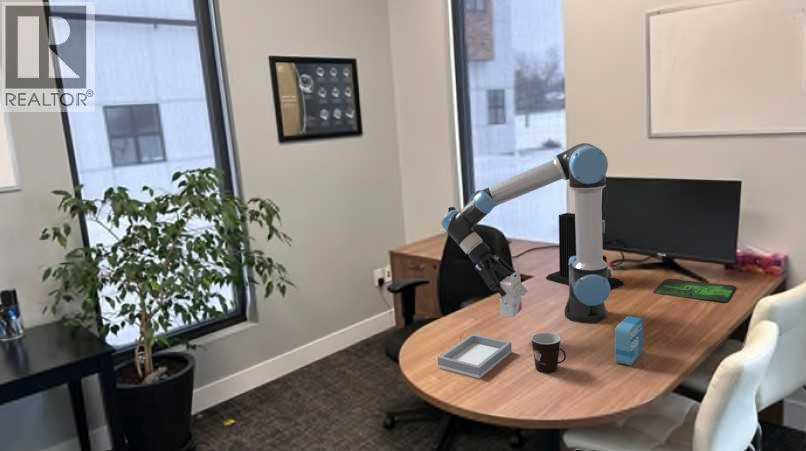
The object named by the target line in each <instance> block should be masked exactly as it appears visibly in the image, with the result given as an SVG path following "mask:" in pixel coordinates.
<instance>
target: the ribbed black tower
mask: <svg viewBox="0 0 806 451" xmlns="http://www.w3.org/2000/svg"><path fill="white" fill-rule="evenodd" d="M605 233H606V220H605V219H604V220H603V219H602V234H605ZM558 251H559V255H558V256H559V258H558V260H559V262H558V263H559V265H558V266H559V268H558V269H559V270H558V271H555V272H553V273H552V272H551V273H549V274H548V275H547V276H545V279H546V280H548V281H551V282H555V283H557V284H558V283H559V284H562V285H565V286H569V265H568V264H569V259H570V257H572V256H576V226H575V213H571V212H565V213H561V214H558ZM603 260H604V261H605V262H606V263H607V264H608V262H607V261H608V257H607V256H606V255H603ZM608 282H609V284H610V291H612V290H614V289H616V288H619V287H622V286H624V285H625V282H624V281H623V280H621V279H619V278H616V277H613V274H612V269H610V268H608Z"/></svg>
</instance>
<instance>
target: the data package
mask: <svg viewBox="0 0 806 451" xmlns="http://www.w3.org/2000/svg"><path fill="white" fill-rule="evenodd" d="M643 336H644V320H643V318H640V317H635V316H629V315H627V316H626V317H625V318H624V319H623V320H621V321H620V322H619V323H618V324H617V325H616V326H615V329H614V361H615V363H617V364H622V365H627V366H632V365H633V364H634V363H635V361H636V360H637V359H639V357H640V356H641V355H642V353H643V348H644V346H643V343H644V342H643V340H644V337H643Z"/></svg>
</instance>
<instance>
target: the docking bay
mask: <svg viewBox="0 0 806 451" xmlns="http://www.w3.org/2000/svg"><path fill="white" fill-rule="evenodd" d="M512 352H513V351H512V342H511V341H507V340H504V339H503V340H501V339H497V338H492V337H487V336H483V335H479V334H475V333H471V334H470V335H468V336H466V337H465V338H464V339H462V340H460V341H459V342H458V343H456V344H455V345H453V346H452V347H450V348H449V349H448V350H446V351H445V352H443V353H442V354H440V355H439V356H437V366H438V368H439V369H443V370H447V371H451V372H453V373H458V374H461V375H465V376H469V377H472V378H476V379H481V378H482V377H483V376H485V375H486V374H487V373H488V372H490V371H491V370H492V369H493V368H494V367H495V366H497V365H499V363H500V362H502V361H503V360H504V359H505V358H507V356H509V355H510V354H512ZM503 358H504V359H503ZM502 359H503V360H502ZM501 360H502V361H501ZM496 364H497V365H496Z"/></svg>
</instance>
